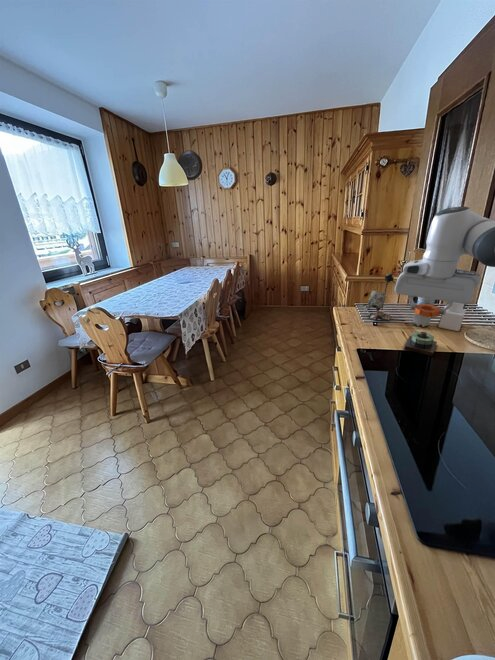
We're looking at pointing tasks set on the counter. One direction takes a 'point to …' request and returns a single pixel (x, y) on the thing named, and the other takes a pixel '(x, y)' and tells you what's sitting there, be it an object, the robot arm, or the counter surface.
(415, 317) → the bottle
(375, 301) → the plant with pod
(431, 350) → the spindle
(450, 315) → the medicine bottle
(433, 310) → the orange ring
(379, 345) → the counter surface
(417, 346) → the charcoal ring
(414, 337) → the sage ring
